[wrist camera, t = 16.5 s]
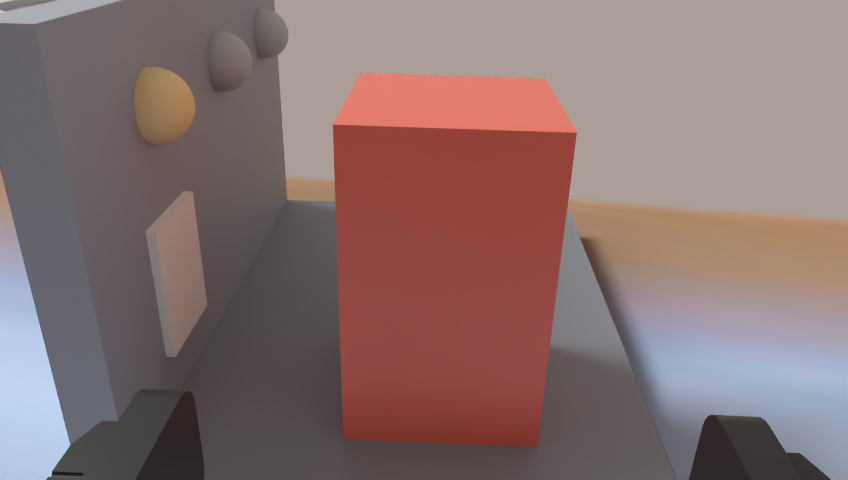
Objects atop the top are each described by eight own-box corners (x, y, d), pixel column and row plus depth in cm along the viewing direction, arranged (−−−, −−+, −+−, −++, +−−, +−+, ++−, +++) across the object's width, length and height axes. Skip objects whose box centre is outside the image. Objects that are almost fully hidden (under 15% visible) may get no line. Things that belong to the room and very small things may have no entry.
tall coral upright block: (342, 439, 21) (333, 124, 17) (364, 332, 27) (360, 73, 22) (537, 446, 21) (576, 132, 17) (518, 337, 27) (545, 79, 22)
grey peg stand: (88, 514, 20) (-37, 21, 14) (262, 223, 39) (240, -42, 33) (676, 541, 20) (803, 48, 14) (565, 234, 39) (599, -31, 33)
